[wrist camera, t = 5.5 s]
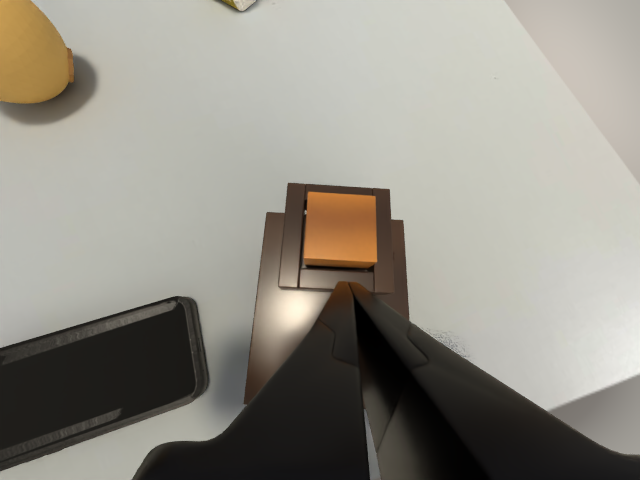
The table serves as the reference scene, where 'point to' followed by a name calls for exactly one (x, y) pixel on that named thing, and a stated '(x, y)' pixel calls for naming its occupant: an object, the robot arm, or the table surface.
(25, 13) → the stress ball
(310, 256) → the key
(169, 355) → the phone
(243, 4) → the juice carton
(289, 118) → the table surface
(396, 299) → the stepped brown pedestal
